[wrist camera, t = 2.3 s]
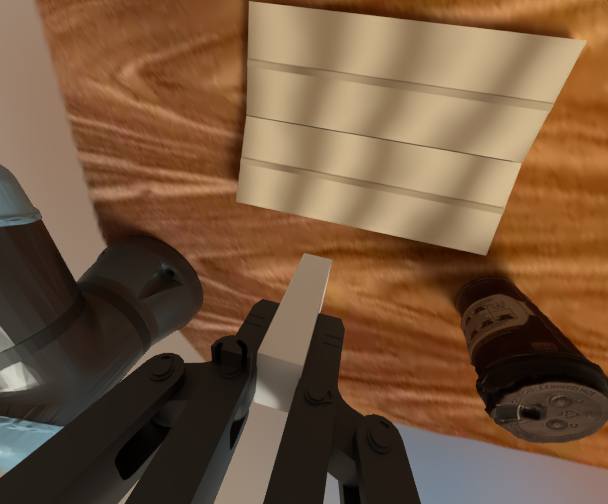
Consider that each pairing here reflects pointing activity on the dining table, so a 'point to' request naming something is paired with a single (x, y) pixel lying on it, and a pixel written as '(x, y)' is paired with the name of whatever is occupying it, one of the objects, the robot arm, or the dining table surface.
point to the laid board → (405, 78)
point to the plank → (375, 184)
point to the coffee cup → (529, 367)
